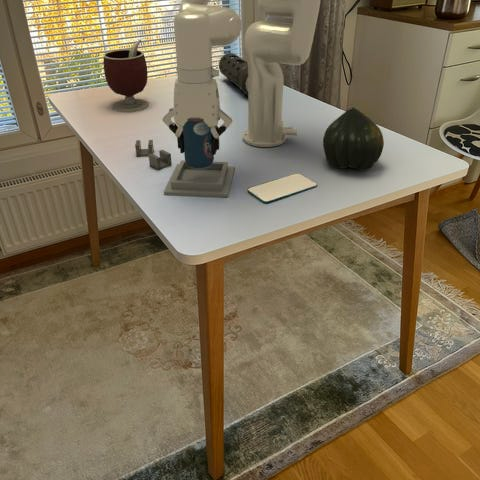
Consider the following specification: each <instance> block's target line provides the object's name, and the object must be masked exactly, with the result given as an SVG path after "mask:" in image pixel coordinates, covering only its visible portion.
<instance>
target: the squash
mask: <svg viewBox="0 0 480 480" xmlns="http://www.w3.org/2000/svg"><path fill="white" fill-rule="evenodd" d="M322 139H323V140H322V147H323V153H324V155H325V158H326V159H325V160H326V161H327V162H328V164H329V165H330V166H332V167H334V168H340V169H341V168H342V169H349V167H350V168H352V169H356V170H358V171H368V170H369V169H371V168H372V167H373V165H374V164H375V163H377V162H378V161H379V159H380V157H381V156H382V153H383V150H384V145H385V141H384V137H383V132H382V131H381V128H380V127H379V126H378V125H377V124H376V122H374V121H373V120H372V119H371V118H370V117H368V116H367V115H365V113H363V112H362V111H360V110H359V109H357V108H355V107H354V106H353V107H351V108H350V109H347V110H346V111H344V112H343V113H342V114H341V115H339V116H338V117H337V118H336V119H334V120H333V121H332V122H331V123H330V124H329V125H328V126H327V127H326V130H325V132H324V135H323V138H322Z"/></svg>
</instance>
